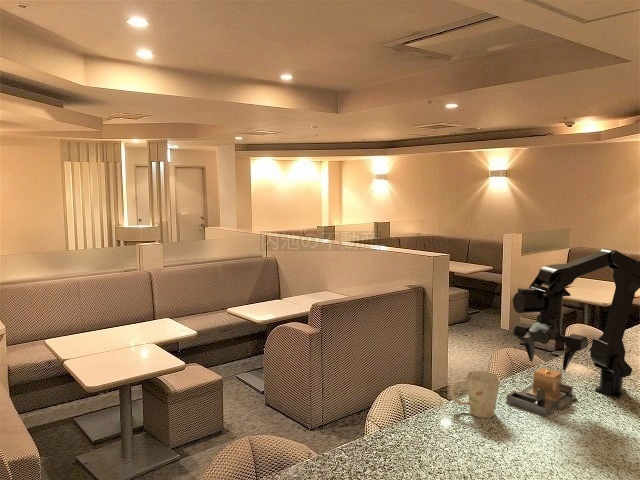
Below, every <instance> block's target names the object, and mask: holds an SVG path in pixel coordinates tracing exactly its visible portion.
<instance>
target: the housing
mask: <svg viewBox="0 0 640 480" xmlns="http://www.w3.org/2000/svg"><path fill="white" fill-rule="evenodd" d="M562 374H563V373H562V372H560V371H557V370H554V369H549V368H546V367H541V368H539V369H537V370H536V371H533V378H532V379H533V380H532V384H533V393H536V394H537V388H544V389H545V390H546V395H545V396H546V397H549V398H552V399H553V398H554V397H556V396H557V395H558V394H560V393H561V383H562V376H563V375H562Z"/></svg>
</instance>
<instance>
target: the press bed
mask: <svg viewBox="0 0 640 480" xmlns="http://www.w3.org/2000/svg"><path fill="white" fill-rule="evenodd" d="M573 391H574V386H573V385H570V384H565V383H563V382H561V393H560V394H558V395H557V396H556V397H554V398H553V399H552V398H549V397H546V396H545V402H548V403H553V409H555V410H559V411H561V410H562V409H563V408H565V407H566V406H568V405H569V404H571V402H573V401H574V400H575V399H577V395H575V394H573ZM518 393H520V394H523V395H526V396H529V397H532V398H535V399H536V393H533V383H532V384H530V385H529V386H527V387H525V388H524V389H522V390H520V391H519V392H518Z"/></svg>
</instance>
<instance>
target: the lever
mask: <svg viewBox="0 0 640 480" xmlns="http://www.w3.org/2000/svg"><path fill="white" fill-rule="evenodd" d="M545 395H546V390H545V389H544V388H537V394H536V402H535V403H534V404H537V405H540V406H543V407H544V406H546V405H547V404H545Z"/></svg>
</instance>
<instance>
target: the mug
mask: <svg viewBox="0 0 640 480" xmlns="http://www.w3.org/2000/svg"><path fill="white" fill-rule="evenodd" d="M500 383H501V378H500V376H499V375H497V374H496V373H493V372H489V371H483V370H474V371H473V370H472V371H469V372H468V373H467V374H466V380H455V381H454V383H452V385H451V386H450V389H449V396H450V398H451V399H452V400H453V402H455V403H457V405H460V406H461V405H463V406H469V412H470V414H471V415H473V416H475V417H477V418H483V419H488V418H492V417H493V416H494V415H495V410H496V405H497V399H498V395H499V389H500ZM459 386H467V392H468V393H467V394H468V395H467V396H468V401H462V400H460V399H458V398H457V396H456V393H455V391H456V389H457V388H458V387H459Z"/></svg>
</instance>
